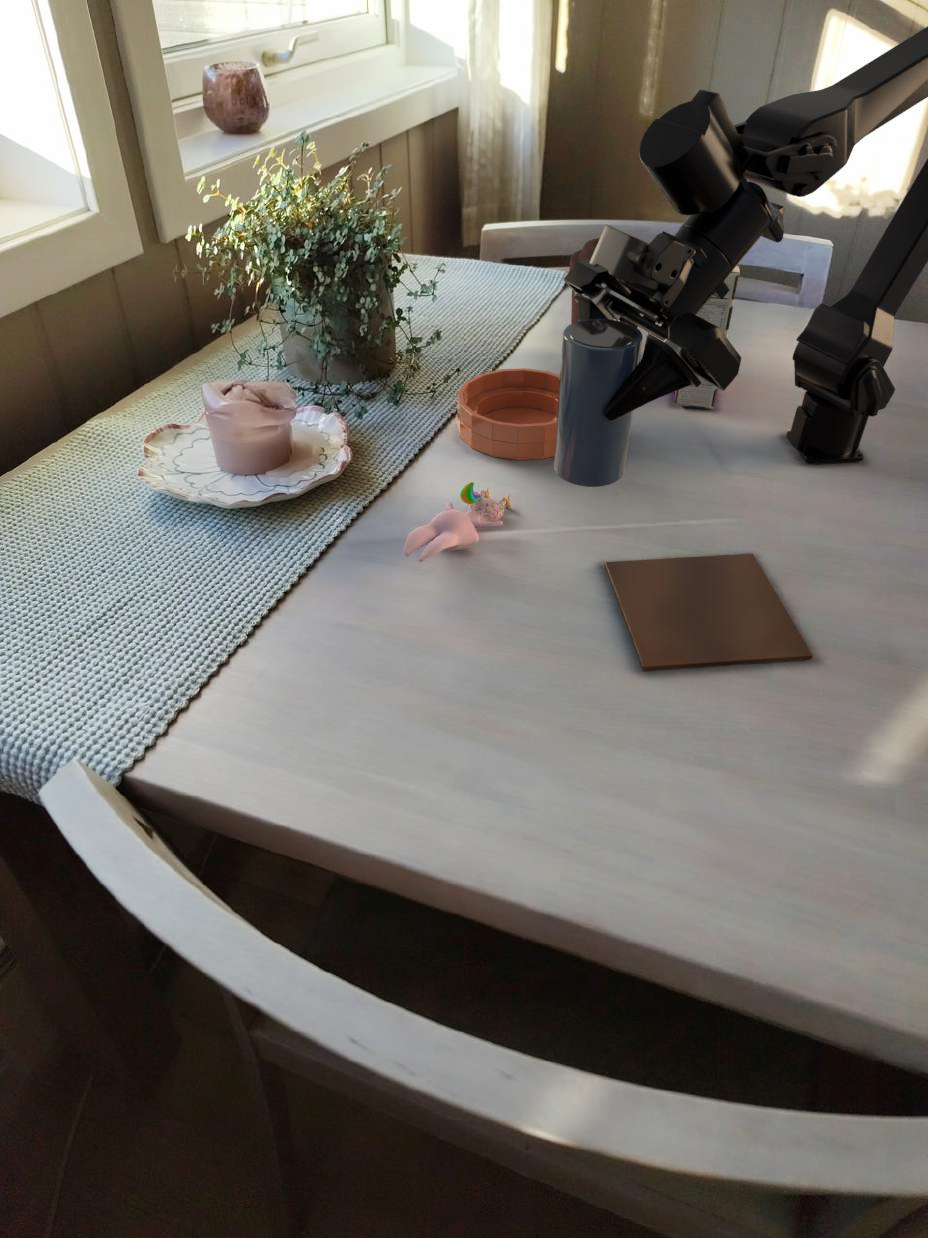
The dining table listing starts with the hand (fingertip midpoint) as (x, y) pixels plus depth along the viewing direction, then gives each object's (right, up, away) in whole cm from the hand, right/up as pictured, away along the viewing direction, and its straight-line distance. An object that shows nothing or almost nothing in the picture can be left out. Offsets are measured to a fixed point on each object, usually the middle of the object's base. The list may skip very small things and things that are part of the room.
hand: (583, 401), depth 76 cm
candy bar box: (+18, +9, +32) cm, 38 cm away
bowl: (-4, +2, +23) cm, 24 cm away
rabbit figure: (-11, -12, +7) cm, 18 cm away
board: (+10, -18, -1) cm, 21 cm away
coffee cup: (+7, +14, +37) cm, 41 cm away
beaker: (+1, -5, +5) cm, 7 cm away
